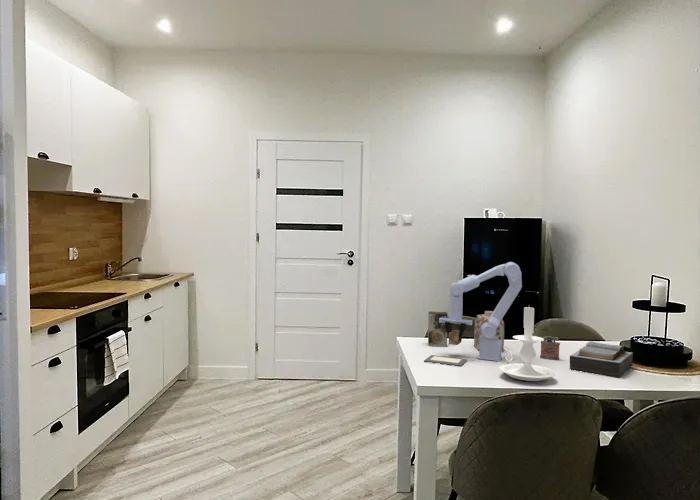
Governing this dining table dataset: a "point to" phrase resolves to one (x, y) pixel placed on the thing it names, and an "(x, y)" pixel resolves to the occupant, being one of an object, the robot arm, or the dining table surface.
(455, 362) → the picture frame
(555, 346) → the lighter
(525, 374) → the candlestick
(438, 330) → the coffee box
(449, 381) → the dining table surface
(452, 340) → the card box
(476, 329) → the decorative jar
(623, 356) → the bible
